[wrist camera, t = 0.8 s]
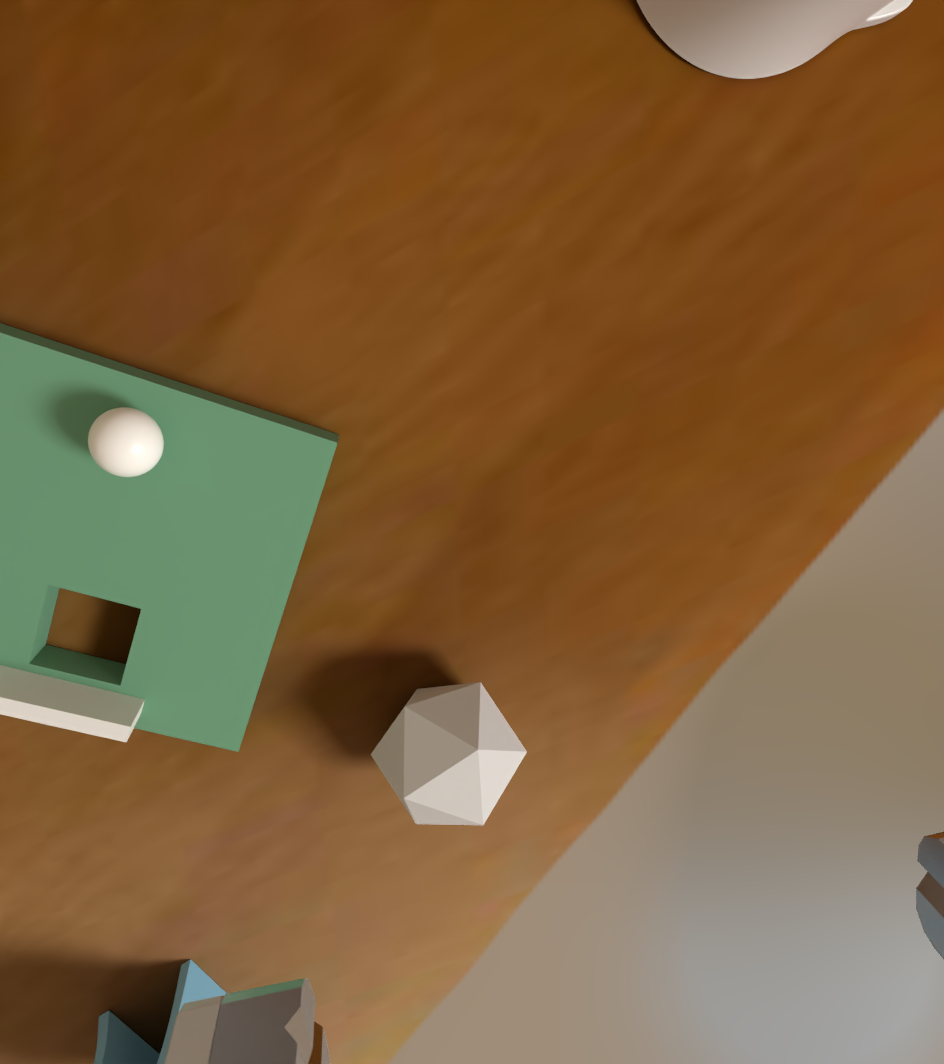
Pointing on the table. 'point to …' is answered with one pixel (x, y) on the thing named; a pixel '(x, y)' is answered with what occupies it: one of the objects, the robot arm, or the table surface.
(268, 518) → the green box with hole
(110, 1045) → the blue wavy channel
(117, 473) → the ball
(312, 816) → the table surface
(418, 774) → the die
